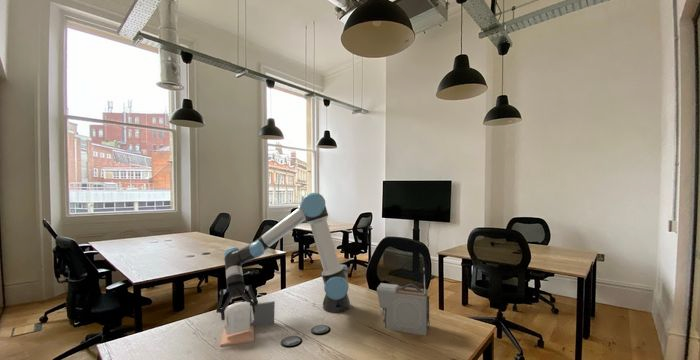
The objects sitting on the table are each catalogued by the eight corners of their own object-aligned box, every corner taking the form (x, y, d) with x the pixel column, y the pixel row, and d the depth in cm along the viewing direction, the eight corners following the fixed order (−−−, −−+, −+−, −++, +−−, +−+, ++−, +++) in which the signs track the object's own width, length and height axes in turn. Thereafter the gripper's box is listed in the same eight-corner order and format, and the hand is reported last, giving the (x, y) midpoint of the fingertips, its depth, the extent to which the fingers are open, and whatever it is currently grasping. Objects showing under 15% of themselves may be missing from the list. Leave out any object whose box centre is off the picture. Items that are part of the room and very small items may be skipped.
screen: (274, 322, 140) (274, 301, 140) (274, 323, 138) (274, 302, 139) (243, 326, 135) (243, 304, 136) (243, 327, 134) (243, 305, 134)
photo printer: (248, 326, 131) (249, 298, 131) (251, 330, 127) (251, 301, 128) (224, 332, 125) (225, 303, 126) (226, 336, 121) (227, 306, 122)
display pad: (253, 327, 134) (253, 325, 134) (253, 341, 122) (253, 339, 122) (223, 331, 130) (223, 329, 130) (220, 346, 118) (220, 344, 118)
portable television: (381, 318, 145) (381, 258, 146) (430, 325, 137) (429, 262, 138) (375, 328, 133) (375, 263, 135) (428, 337, 125) (427, 268, 127)
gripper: (257, 278, 146) (264, 321, 131) (207, 285, 134) (209, 334, 120) (260, 270, 141) (267, 314, 127) (209, 277, 130) (211, 326, 116)
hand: (239, 324), depth 124 cm, fingers closed on photo printer, 10 cm apart
